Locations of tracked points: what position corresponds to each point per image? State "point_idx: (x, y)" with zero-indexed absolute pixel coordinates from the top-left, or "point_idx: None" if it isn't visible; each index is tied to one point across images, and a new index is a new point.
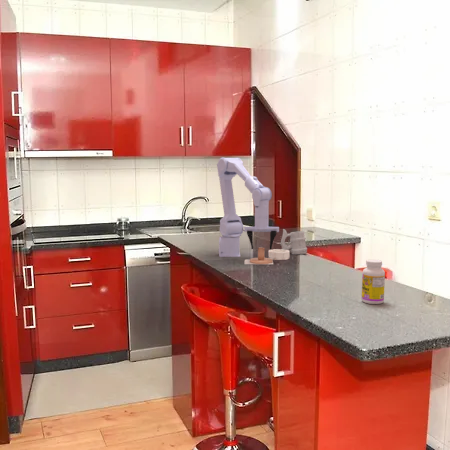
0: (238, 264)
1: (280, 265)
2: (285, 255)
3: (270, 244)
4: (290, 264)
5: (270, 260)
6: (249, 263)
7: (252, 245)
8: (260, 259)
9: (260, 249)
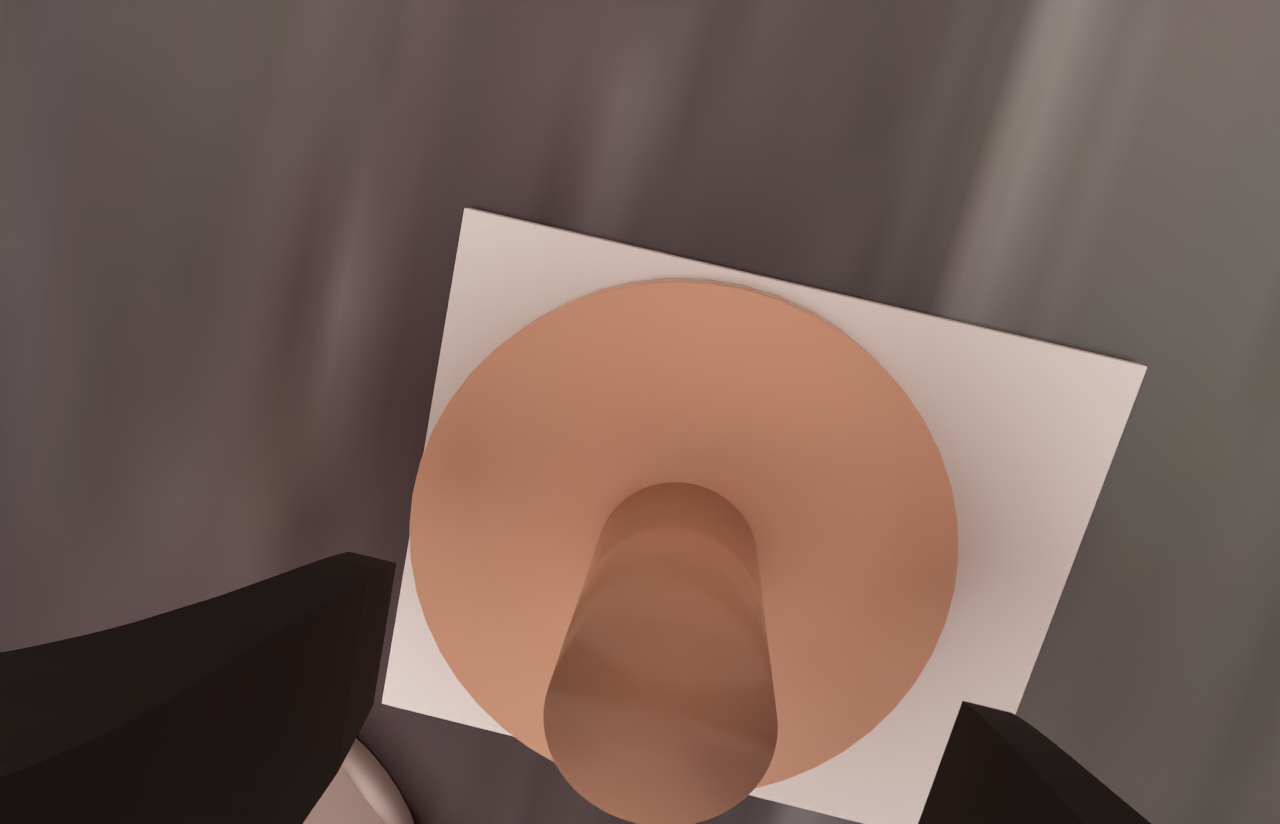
0: (1254, 443)
1: (318, 165)
2: None
3: (305, 602)
4: (82, 247)
5: (482, 410)
6: (1005, 399)
7: (1043, 767)
8: (712, 497)
9: (716, 615)
